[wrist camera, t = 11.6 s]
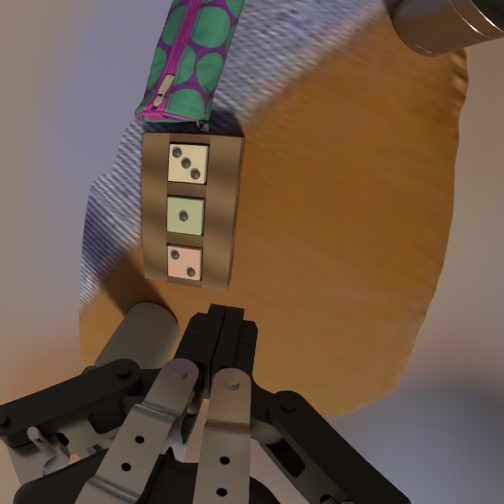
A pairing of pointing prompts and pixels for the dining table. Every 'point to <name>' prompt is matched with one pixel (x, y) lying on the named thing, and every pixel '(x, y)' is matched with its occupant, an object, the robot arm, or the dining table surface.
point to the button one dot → (186, 214)
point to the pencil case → (189, 61)
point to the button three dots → (188, 162)
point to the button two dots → (185, 261)
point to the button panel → (215, 191)
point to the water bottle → (138, 346)
